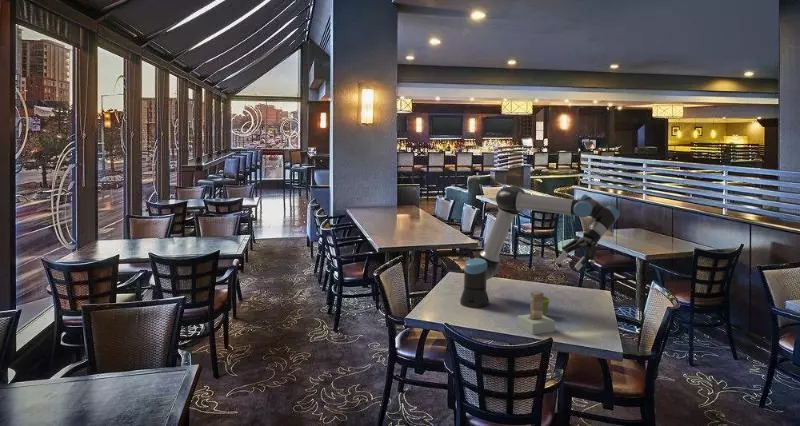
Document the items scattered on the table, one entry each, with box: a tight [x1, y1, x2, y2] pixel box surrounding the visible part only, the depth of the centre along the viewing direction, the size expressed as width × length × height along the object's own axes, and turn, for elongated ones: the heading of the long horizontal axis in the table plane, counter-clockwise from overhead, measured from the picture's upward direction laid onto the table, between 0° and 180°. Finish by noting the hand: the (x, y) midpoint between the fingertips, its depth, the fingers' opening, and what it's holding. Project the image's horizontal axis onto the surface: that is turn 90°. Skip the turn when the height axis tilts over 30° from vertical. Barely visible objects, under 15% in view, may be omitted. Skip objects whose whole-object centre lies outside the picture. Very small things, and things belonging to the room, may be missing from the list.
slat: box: [529, 291, 544, 320], centre depth 244 cm, size 2×5×16 cm, turn 113°
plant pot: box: [542, 295, 551, 317], centre depth 265 cm, size 9×9×9 cm
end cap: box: [516, 313, 556, 335], centre depth 245 cm, size 12×12×5 cm
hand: (566, 265), depth 253 cm, fingers open, 13 cm apart
